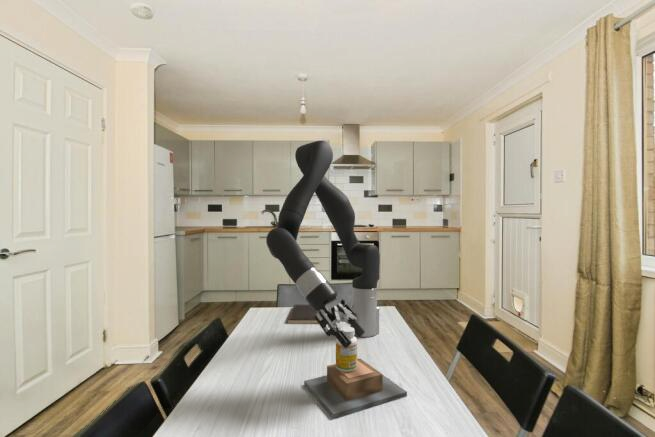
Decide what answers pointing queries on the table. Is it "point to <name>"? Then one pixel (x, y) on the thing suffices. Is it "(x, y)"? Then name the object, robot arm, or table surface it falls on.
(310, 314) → the hardcover book
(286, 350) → the table surface
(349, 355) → the supplement bottle
